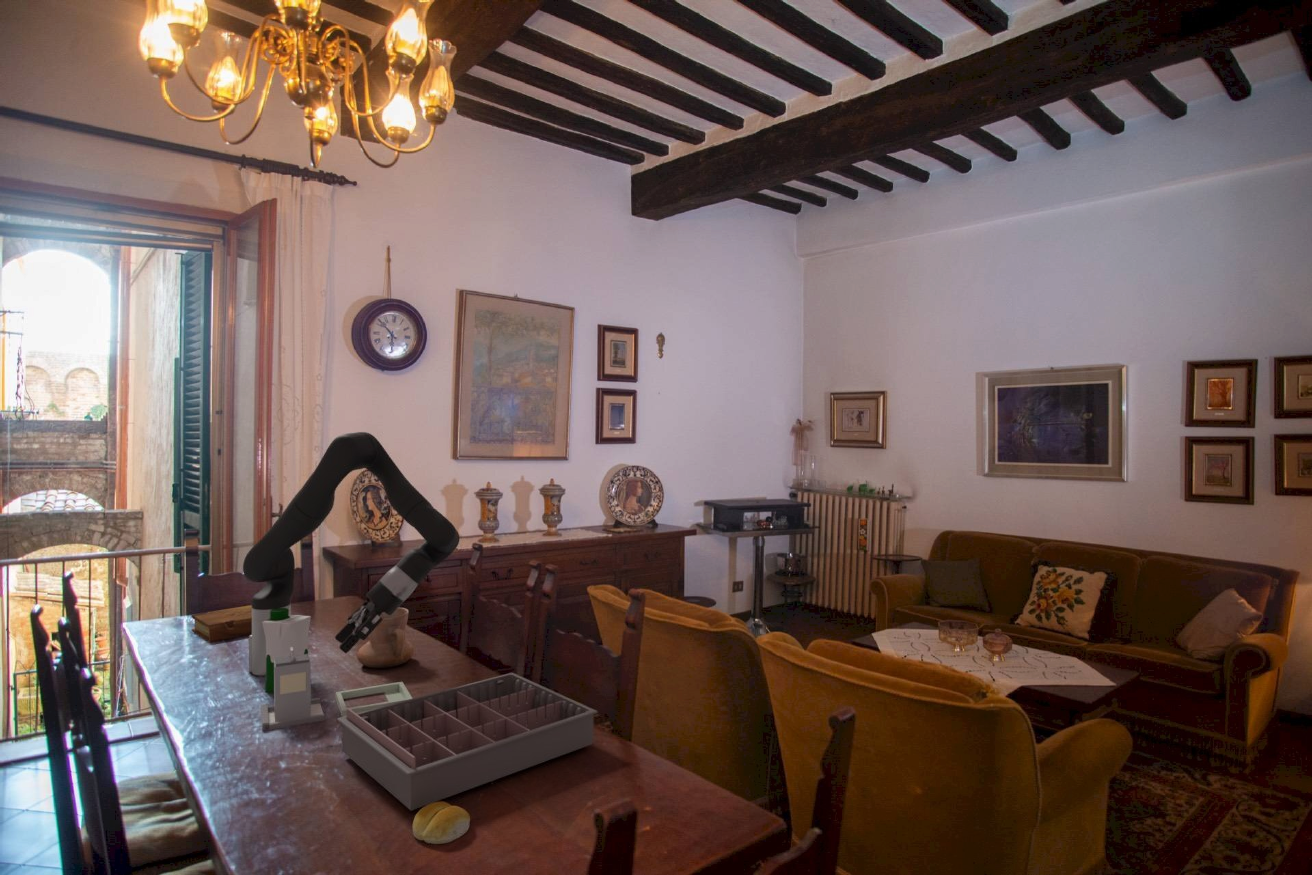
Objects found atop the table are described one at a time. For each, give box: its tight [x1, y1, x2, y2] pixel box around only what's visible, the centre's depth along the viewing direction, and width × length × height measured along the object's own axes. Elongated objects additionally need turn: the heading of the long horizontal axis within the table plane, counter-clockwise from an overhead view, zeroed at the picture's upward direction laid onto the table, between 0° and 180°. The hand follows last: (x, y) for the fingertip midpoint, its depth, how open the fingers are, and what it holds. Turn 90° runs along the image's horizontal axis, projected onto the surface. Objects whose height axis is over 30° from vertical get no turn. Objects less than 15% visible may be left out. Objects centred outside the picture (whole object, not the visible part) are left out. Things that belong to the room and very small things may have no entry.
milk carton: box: [262, 608, 312, 694], centre depth 182 cm, size 9×9×20 cm
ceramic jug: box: [356, 606, 414, 669], centre depth 203 cm, size 18×14×14 cm
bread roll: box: [412, 800, 471, 845], centre depth 120 cm, size 8×9×4 cm
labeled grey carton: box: [273, 647, 312, 722], centre depth 164 cm, size 7×5×15 cm
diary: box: [191, 604, 252, 643], centre depth 237 cm, size 23×19×6 cm
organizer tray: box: [336, 672, 599, 811], centre depth 148 cm, size 32×40×10 cm
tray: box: [335, 681, 413, 717], centre depth 173 cm, size 15×13×2 cm
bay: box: [260, 697, 326, 732], centre depth 164 cm, size 12×12×2 cm
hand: (340, 645), depth 169 cm, fingers open, 8 cm apart
